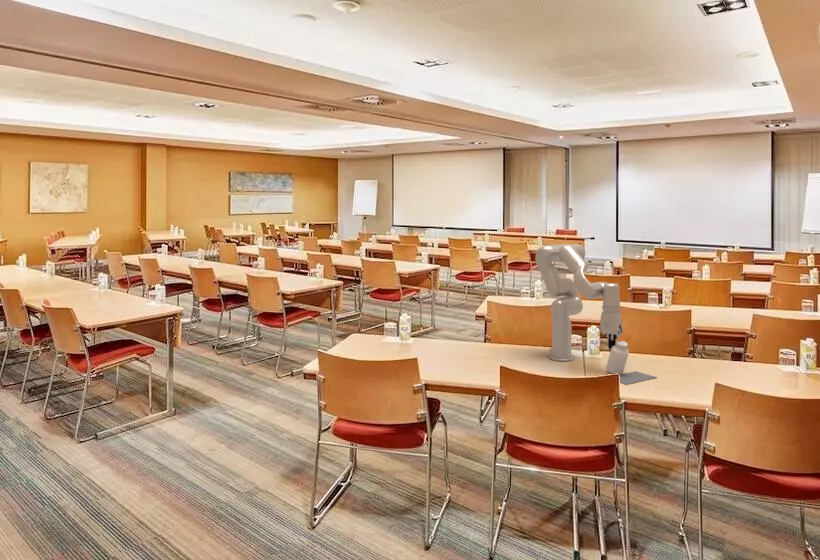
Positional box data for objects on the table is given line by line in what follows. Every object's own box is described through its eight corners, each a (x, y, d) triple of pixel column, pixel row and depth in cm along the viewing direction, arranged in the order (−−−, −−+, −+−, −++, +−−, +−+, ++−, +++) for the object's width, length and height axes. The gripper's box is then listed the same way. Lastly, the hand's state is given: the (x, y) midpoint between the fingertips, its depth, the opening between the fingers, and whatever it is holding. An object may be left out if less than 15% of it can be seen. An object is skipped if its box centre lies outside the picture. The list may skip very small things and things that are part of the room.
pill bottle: (620, 377, 272) (628, 348, 267) (603, 370, 276) (610, 342, 271) (625, 370, 279) (632, 342, 273) (608, 364, 283) (615, 337, 277)
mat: (605, 378, 270) (605, 377, 269) (635, 371, 279) (635, 371, 279) (626, 384, 259) (626, 384, 259) (657, 377, 269) (657, 377, 269)
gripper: (593, 308, 281) (594, 346, 283) (618, 312, 268) (618, 351, 270) (604, 307, 285) (605, 344, 286) (629, 310, 272) (630, 349, 273)
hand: (611, 347), depth 278 cm, fingers closed
